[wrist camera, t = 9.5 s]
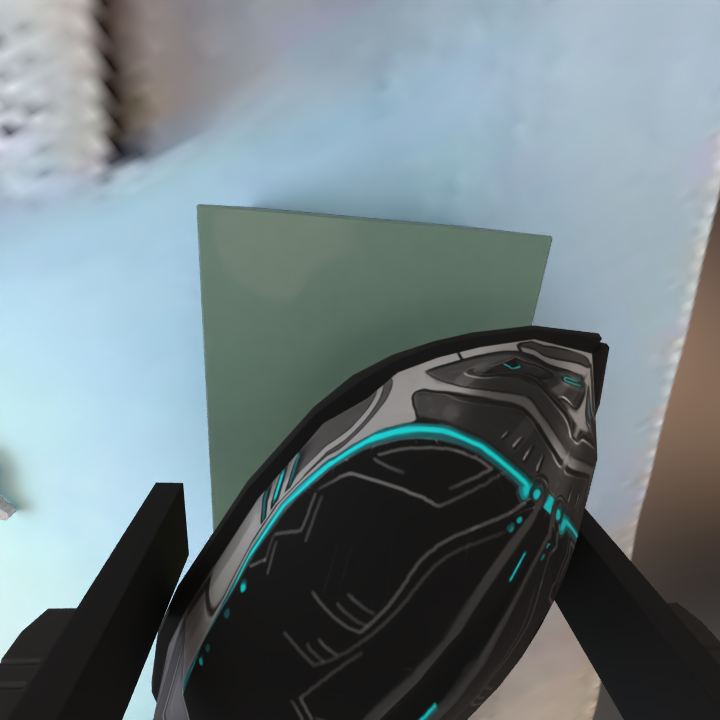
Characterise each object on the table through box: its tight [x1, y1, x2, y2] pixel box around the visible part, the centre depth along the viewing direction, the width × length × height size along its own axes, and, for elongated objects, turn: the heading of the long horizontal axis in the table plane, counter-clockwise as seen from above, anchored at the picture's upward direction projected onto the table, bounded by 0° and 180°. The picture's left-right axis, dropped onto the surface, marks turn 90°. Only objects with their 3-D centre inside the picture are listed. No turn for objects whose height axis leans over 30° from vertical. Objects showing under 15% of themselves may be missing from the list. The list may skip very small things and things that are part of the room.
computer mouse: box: [152, 326, 609, 720], centre depth 10 cm, size 9×17×6 cm, turn 135°
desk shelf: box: [197, 204, 552, 532], centre depth 21 cm, size 18×12×9 cm, turn 175°
